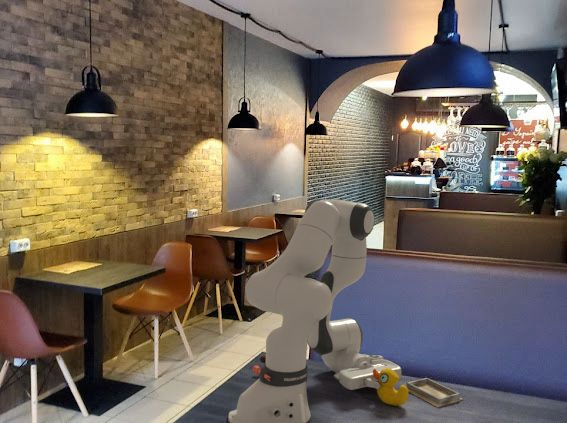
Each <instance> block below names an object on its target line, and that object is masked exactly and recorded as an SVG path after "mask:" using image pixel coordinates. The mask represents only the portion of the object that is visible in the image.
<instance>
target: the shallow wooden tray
mask: <svg viewBox="0 0 567 423" xmlns="http://www.w3.org/2000/svg"><path fill="white" fill-rule="evenodd" d="M405 386H406V387H407V388H408V391H409V393H410V394H412V395H414V396H416V397H417V398H420V399H421V400H423V401H425V402H427V403H429V404H430V405H432V406H435V407H436V408H439V407H443V406H446V405H451V404H454V403H457V402H462V401H463V400H464V399H463V398H462V397H461V393H459V392H457V391H456V390H454V389H452V388H450V387H446V385H443V384H441V383H438V382H436V381H435V380H433V379H430V378H428V377H425V378H421V379H417V380H412V381H408V382H406V385H405Z"/></svg>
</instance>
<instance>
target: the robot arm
mask: <svg viewBox="0 0 567 423" xmlns="http://www.w3.org/2000/svg"><path fill="white" fill-rule="evenodd" d="M374 213H375V212H374V210H373V209H372V207H371V206H370V205H368V204H366V203H362V202H353V201H349V200H343V199H336V198H335V199H334V198H331V199H329V198H328V199H324V198H317V199H315V198H314V199H312V200H311V201H309V203H308V204H307V206H306V207H305V209H304V214H303V215H302V217H301V219H300V220H299V222H298V224H297V227H296V229H295V230H294V233H293V234H292V237H291V239H290V241H289V242H288V245H286V248H285V249H284V250H283V252H282V253H281V254H280V255H279V256H278V257H277V259H275V260H274V261H273V262H272V263H271V264H270V265H268V266H266V267H265V268H264V269H261V270H260V271H257V272H254V273H253V274H252V275H251V276H250V277H249V278H248V280H247V281H246V284H245V290H244V293H245V297H246V300H247V302H248V304H249V305H251V306H253V307H254V308H257V309H258V310H260V311H263V312H267V313H271V314H276V315H280V316H281V317H282V323H281V326H279V327H277V328H275V329H273V330H272V331H271V332H269V334H268V335H267V337H266V341H265V356H266V363H263V364H264V365H263V366H262V368H263V369H262V368H261V367H260V366H259V365H253V367H252V372H253V373H254V374H255V375H257V376H258V375H259V376H258V378H257V380H256V381H254V382H253V384H251V385H250V386H249V387H248V388H247V389H245V390H244V391H243V392H242V393H241V394H240V395H239V397H238V400H237V405H236V409H234V410H231V411H229V412H228V422H229V423H307V422H308V421H310V419H311V411H310V407H309V402H308V393H307V382H308V364H307V354H308V353H307V352H308V350H307V349H308V347H309V349H311V351H312V352H313V353H315V354H316V355H319V356H321V359H322V361H323V363H324V364H325V365H326V366H327V367H328V368H329V370H331V371H333V372H334V373H335V374H334V375H333V377H334V378H335V379H336V380H337V381H339V384H340V385H342V386H343V387H344V388H345V389H347V390H350V391H353V390H354V391H355V390H359V389H362V388H367V387H368V388H374V389H376V390H377V389H381V388H382V383H381V382H380V380H377V379H376V378H375V377H374V375H373V370H374V369H376V371H377V372H379V373H380V371H381V370H383V369H387V368H388V369H392V370H393V371H394V372H395V373H396V374H397V375H398V376H399V380H401V379H402V368H401V366H400V365H398V364H396V363H394V362H392V361H390V360H388V359H384V357H383V356H382V355H379V354H378V355H377V354H365V353H361V349H362V345H363V341H364V334H363V329H362V327H361V326H360V324H359V323H358V322H357V321H356V320H355V319H354V318H349V317H348V318H343V319H342V318H341V319H337V320H331V317H332V316H331V315H332V309H333V304H334V300H335V298H336V296H338V294H339V293H340V292H341V291H342V290H344V289H345V288H347V287H348V286H351V285H352V284H354V283H356V282H357V281H359V280H360V279H361V278H362V277H363V275H364V273H365V271H366V266H367V252H368V248H367V237H368V236H370V234H371V233H372V232H373V230H374V225H375V214H374ZM330 250H331V258H330V262H329V264H328V267H327V270H326V271H325V272H324V273H323V274H322V275H321V277H320V280H316V279H314V278H311V277H306V276H307V275H309V274H311V273H314V272H316V271H318V270H319V269H321V268H322V267H323V265H324V264H325V261H326V259H327V257H328V254H329V253H330ZM397 384H398V382H397V383H396V385H397Z"/></svg>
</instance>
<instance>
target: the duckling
mask: <svg viewBox="0 0 567 423" xmlns="http://www.w3.org/2000/svg"><path fill="white" fill-rule="evenodd" d="M373 375H374V377H375V378H376V379H377V380H380V382H381V383H382V388H381V389H376V393H377V396H378V397H379V399H380V400H381V401H382V402H383V403H385V404H386V405H390V406H393V407H394V406H401V405H404V404H406V402H408V399H409V393H410V392H409V391H408V388H407V387H406V385H405V384H401V385H400V386H399V388H398V390H396V389H395V388H394V387H396V386H397V384H398V382H399V381H400V379H399V376H398V375H397V374H396V373H395V372H394V371H393V370H392V369H388V368H387V369H383V370H381V371H380V373H379V372H377V371H376V369H374V370H373ZM396 383H397V384H396Z"/></svg>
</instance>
